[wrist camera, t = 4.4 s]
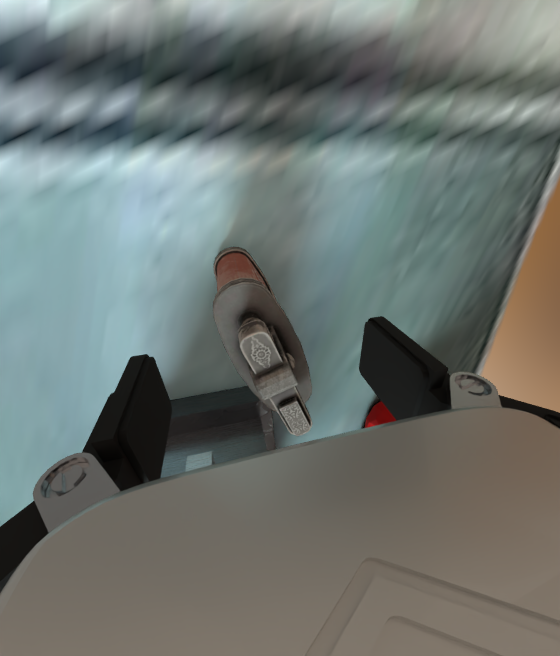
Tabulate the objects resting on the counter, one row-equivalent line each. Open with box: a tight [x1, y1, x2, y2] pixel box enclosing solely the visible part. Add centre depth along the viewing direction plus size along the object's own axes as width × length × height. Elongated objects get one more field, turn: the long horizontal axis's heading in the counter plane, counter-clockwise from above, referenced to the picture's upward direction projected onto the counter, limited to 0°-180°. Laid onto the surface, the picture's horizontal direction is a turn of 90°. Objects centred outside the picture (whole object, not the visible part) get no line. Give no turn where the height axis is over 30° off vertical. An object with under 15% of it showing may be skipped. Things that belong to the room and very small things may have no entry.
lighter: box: [213, 247, 312, 436], centre depth 15 cm, size 8×3×10 cm, turn 21°
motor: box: [161, 386, 275, 478], centre depth 20 cm, size 11×16×14 cm
